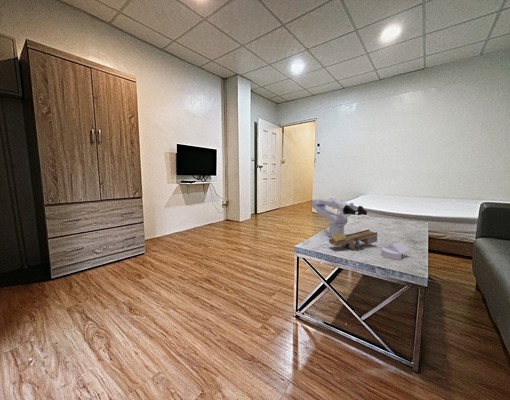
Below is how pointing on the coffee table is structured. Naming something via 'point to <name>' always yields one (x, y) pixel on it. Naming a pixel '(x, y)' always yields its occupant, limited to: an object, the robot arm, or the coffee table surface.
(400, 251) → the wedge on round base
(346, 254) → the coffee table surface
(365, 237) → the beam
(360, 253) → the coffee table surface
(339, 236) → the rider
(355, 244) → the grey metal bracket
